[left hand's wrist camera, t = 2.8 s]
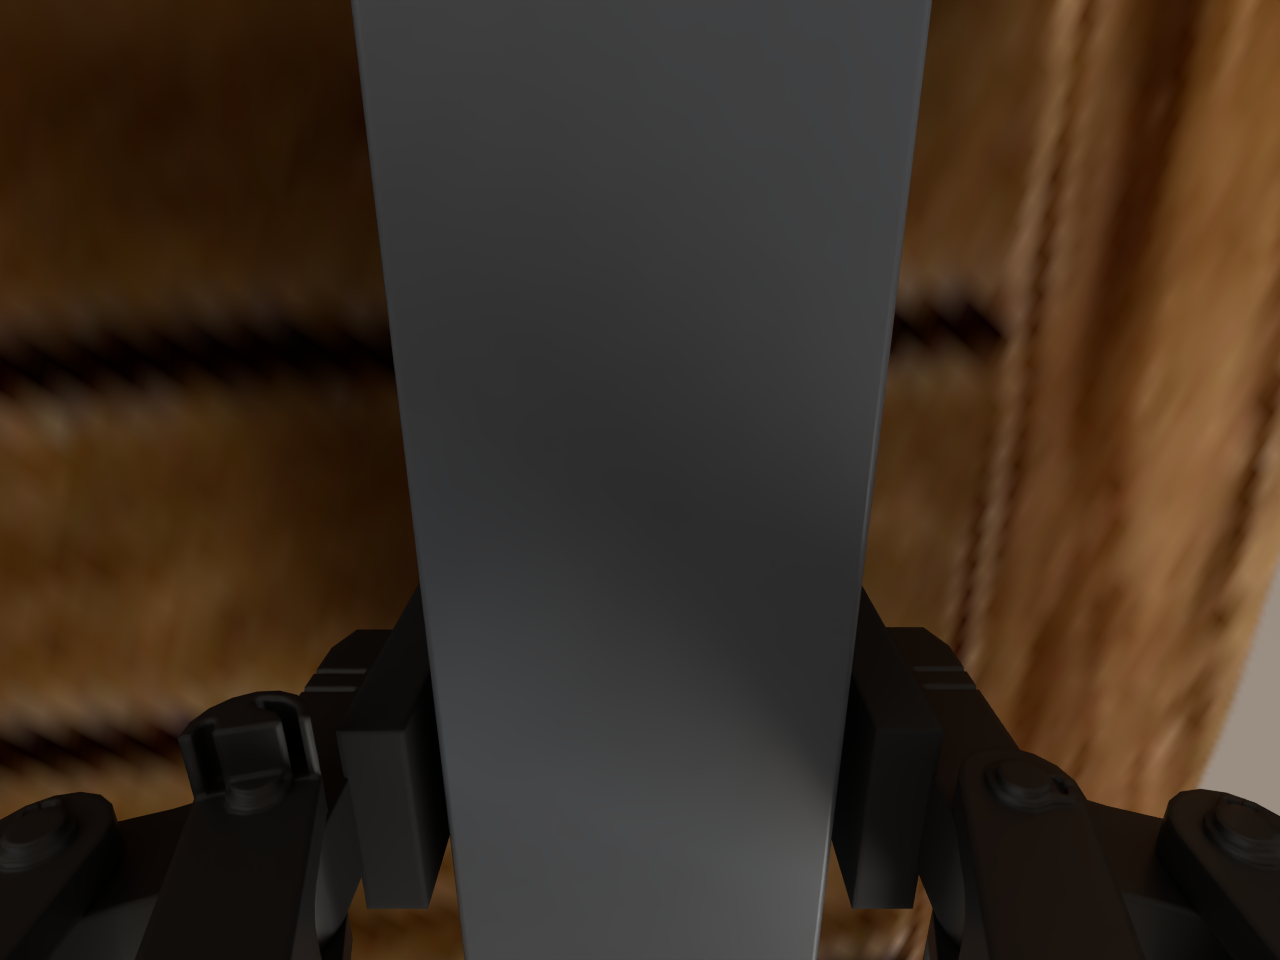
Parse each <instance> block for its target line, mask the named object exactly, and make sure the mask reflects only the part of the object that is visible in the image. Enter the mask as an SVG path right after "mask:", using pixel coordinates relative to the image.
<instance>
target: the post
mask: <svg viewBox="0 0 1280 960" xmlns="http://www.w3.org/2000/svg"><path fill="white" fill-rule="evenodd" d="M931 5H932V0H351V8H352V16H353V25H354V33H355V41H356V50H357V58H358V67H359V75H360V83H361V92H362V100H363V109H364V117H365V125H366V134H367V142H368V151H369V159H370V167H371V176H372V184H373V193H374V201H375V209H376V218H377V226H378V235H379V243H380V252H381V260H382V268H383V277H384V285H385V294H386V302H387V310H388V319H389V327H390V336H391V344H392V352H393V361H394V369H395V378H396V386H397V394H398V403H399V411H400V420H401V428H402V437H403V445H404V453H405V462H406V470H407V479H408V487H409V495H410V504H411V512H412V521H413V529H414V537H415V546H416V554H417V563H418V571H419V579H420V588H421V596H422V605H423V613H424V622H425V630H426V638H427V647H428V655H429V664H430V672H431V680H432V689H433V697H434V706H435V714H436V722H437V731H438V739H439V748H440V756H441V764H442V773H443V781H444V790H445V798H446V806H447V815H448V823H449V832H450V840H451V849H452V857H453V865H454V874H455V882H456V891H457V899H458V907H459V916H460V924H461V933H462V941H463V949H464V958H465V960H817V955H818V946H819V938H820V930H821V921H822V913H823V905H824V896H825V888H826V880H827V871H828V863H829V855H830V846H831V838H832V830H833V821H834V813H835V805H836V796H837V788H838V780H839V771H840V763H841V755H842V746H843V738H844V730H845V721H846V713H847V705H848V696H849V688H850V680H851V671H852V663H853V655H854V646H855V638H856V630H857V621H858V613H859V605H860V596H861V588H862V580H863V571H864V563H865V555H866V546H867V538H868V530H869V521H870V513H871V505H872V496H873V488H874V480H875V471H876V463H877V455H878V446H879V438H880V430H881V421H882V413H883V405H884V396H885V388H886V380H887V371H888V363H889V355H890V346H891V338H892V330H893V321H894V313H895V305H896V296H897V288H898V280H899V271H900V263H901V255H902V246H903V238H904V230H905V221H906V213H907V205H908V196H909V188H910V180H911V171H912V163H913V155H914V146H915V138H916V130H917V121H918V113H919V105H920V96H921V88H922V80H923V71H924V63H925V55H926V46H927V38H928V30H929V21H930V13H931Z"/></svg>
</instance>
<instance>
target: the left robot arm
mask: <svg viewBox="0 0 1280 960" xmlns="http://www.w3.org/2000/svg"><path fill="white" fill-rule="evenodd" d="M178 741H179V745H180V748H181V752H182V756H183V759H184V763H185V767H186V770H187V774H188V778H189V781H190V785H191V789H192V792H193V796H194V801H193V803H191V804H188V805H185V806H181V807H178V808H175V809H171V810H166V811H162V812H158V813H153V814H149V815H145V816H140V817H136V818H132V819H127V820H123V821H119V822H118V821H117V818H116V815H115V812H114V809H113V806H112V804H111V803H110V802H109V801H108V800H106V799H105V798H104V797H103V796H101V795H99V794H92V793H85V792H77V793H70V794H63V795H57V796H53V797H50V798H47V799H44V800H41V801H38V802H35V803H33V804H30V805H27V806H25V807H23V808H21V809H19V810H17V811H16V812H14V813H12V814H10V815H8V816H7V817H5V818H3V819H1V820H0V960H351V950H352V932H351V926H350V920H349V915H348V909H349V906H350V904H351V901H352V899H353V897H354V894H355V892H356V889H357V887H358V884H359V882H360V879H361V877H362V881H363V887H364V893H365V898H366V904H367V909H428V907H429V903H430V900H431V897H432V893H433V890H434V886H435V883H436V880H437V876H438V873H439V870H440V866H441V863H442V859H443V856H444V853H445V849H446V846H447V843H448V839H449V836H450V832H449V823H448V815H447V806H446V798H445V790H444V781H443V773H442V764H441V756H440V748H439V739H438V731H437V722H436V714H435V706H434V697H433V689H432V680H431V672H430V664H429V655H428V647H427V638H426V630H425V622H424V613H423V605H422V596H421V588H420V583H419V585H418V587H417V588H416V590H415V592H414V594H413V595H412V597H411V599H410V601H409V602H408V604H407V606H406V608H405V609H404V611H403V613H402V615H401V616H400V618H399V620H398V622H397V624H396V625H395V627H394V629H393V630H356V631H355V632H353V633H352V634H350V635H349V636H348V637H346V638H345V639H343V640H342V641H341V642H339V643H338V644H337V645H335V646H334V647H332V648H331V650H330V651H329V653H328V654H327V655H326V657H325V658H324V660H323V661H322V663H321V664H320V666H319V667H318V669H317V674H314V675H313V676H312V678H311V679H310V680H309V682H308V683H307V685H306V686H305V691H304V692H301V694H300V695H299V696H298V695H295V694H291V693H287V692H283V691H261V692H254V693H250V694H246V695H242V696H238V697H234V698H231V699H229V700H227V701H224V702H222V703H220V704H218V705H216V706H214V707H211V708H209V709H208V710H206V711H205V712H204V713H202V714H201V715H200V716H198V717H197V718H196V719H194V720H193V721H191V722H190V723H189V724H188V726H187V727H186V728H185V730H184V731H183V732H182V734H181V735H180V737H179V738H178ZM831 839H832V843H833V846H834V849H835V853H836V856H837V860H838V863H839V866H840V870H841V873H842V876H843V880H844V883H845V886H846V890H847V893H848V897H849V900H850V903H851V907H852V909H913V904H914V898H915V893H916V887H917V881H918V876H920V878H921V881H922V883H923V886H924V888H925V890H926V893H927V895H928V898H929V900H930V903H931V905H932V908H933V909H932V915H931V920H930V925H929V930H928V935H927V941H926V946H925V951H924V956H923V960H1280V816H1279V815H1277V814H1275V813H1273V812H1271V811H1269V810H1268V809H1266V808H1264V807H1262V806H1260V805H1258V804H1257V803H1254V802H1252V801H1249V800H1246V799H1244V798H1240V797H1237V796H1234V795H1232V794H1229V793H1225V792H1218V791H1212V790H1205V789H1196V790H1189V791H1182V792H1179V793H1178V794H1177V795H1176V796H1174V797H1173V798H1172V799H1171V800H1170V801H1169V803H1168V806H1167V809H1166V812H1165V815H1164V818H1163V819H1162V818H1157V817H1153V816H1149V815H1144V814H1140V813H1136V812H1131V811H1127V810H1123V809H1118V808H1114V807H1109V806H1106V805H1102V804H1099V803H1096V802H1092V801H1089V800H1086V797H1085V796H1084V794H1083V793H1082V791H1081V790H1080V788H1079V786H1078V785H1077V783H1076V782H1075V781H1074V780H1073V779H1072V778H1071V777H1070V776H1068V775H1067V774H1066V773H1065V772H1064V771H1063V770H1061V769H1060V768H1059V767H1058V766H1056V765H1054V764H1052V763H1051V762H1049V761H1047V760H1045V759H1043V758H1041V757H1039V756H1037V755H1035V754H1032V753H1028V752H1025V751H1021V750H1020V749H1019V748H1018V746H1017V745H1016V743H1015V742H1014V740H1013V739H1012V737H1011V736H1010V734H1009V733H1008V732H1007V730H1006V729H1005V727H1004V726H1003V724H1002V723H1001V721H1000V720H999V718H998V717H997V715H996V714H995V712H994V711H993V710H992V708H991V707H990V705H989V704H988V702H987V701H986V699H985V698H984V696H983V695H982V693H981V692H980V691H979V690H976V685H975V683H974V682H973V680H972V679H971V677H970V676H969V674H968V673H967V672H964V667H963V666H962V664H961V663H960V661H959V660H958V658H957V657H956V655H955V654H954V653H953V651H952V650H951V648H950V647H949V646H948V645H947V644H946V643H944V642H943V641H942V640H940V639H939V638H937V637H936V636H935V635H933V634H932V633H930V632H929V631H928V630H926V629H925V628H923V627H885V625H884V624H883V622H882V620H881V618H880V617H879V615H878V613H877V611H876V609H875V608H874V606H873V604H872V602H871V601H870V599H869V597H868V595H867V594H866V592H865V590H864V588H863V587H862V588H861V596H860V605H859V613H858V621H857V630H856V638H855V646H854V655H853V663H852V671H851V680H850V688H849V696H848V705H847V713H846V721H845V730H844V738H843V746H842V755H841V763H840V771H839V780H838V788H837V796H836V805H835V813H834V821H833V830H832V838H831Z"/></svg>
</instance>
